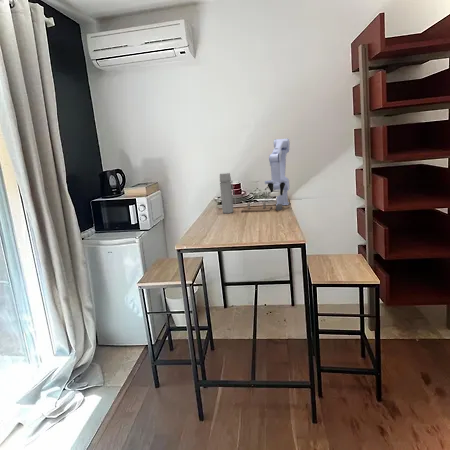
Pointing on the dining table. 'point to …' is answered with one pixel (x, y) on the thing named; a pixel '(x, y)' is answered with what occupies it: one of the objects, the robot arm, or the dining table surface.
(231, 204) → the water bottle
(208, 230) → the dining table surface
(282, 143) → the robot arm
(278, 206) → the block
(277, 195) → the shelf board
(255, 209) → the peg stand
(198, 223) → the dining table surface
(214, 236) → the dining table surface
